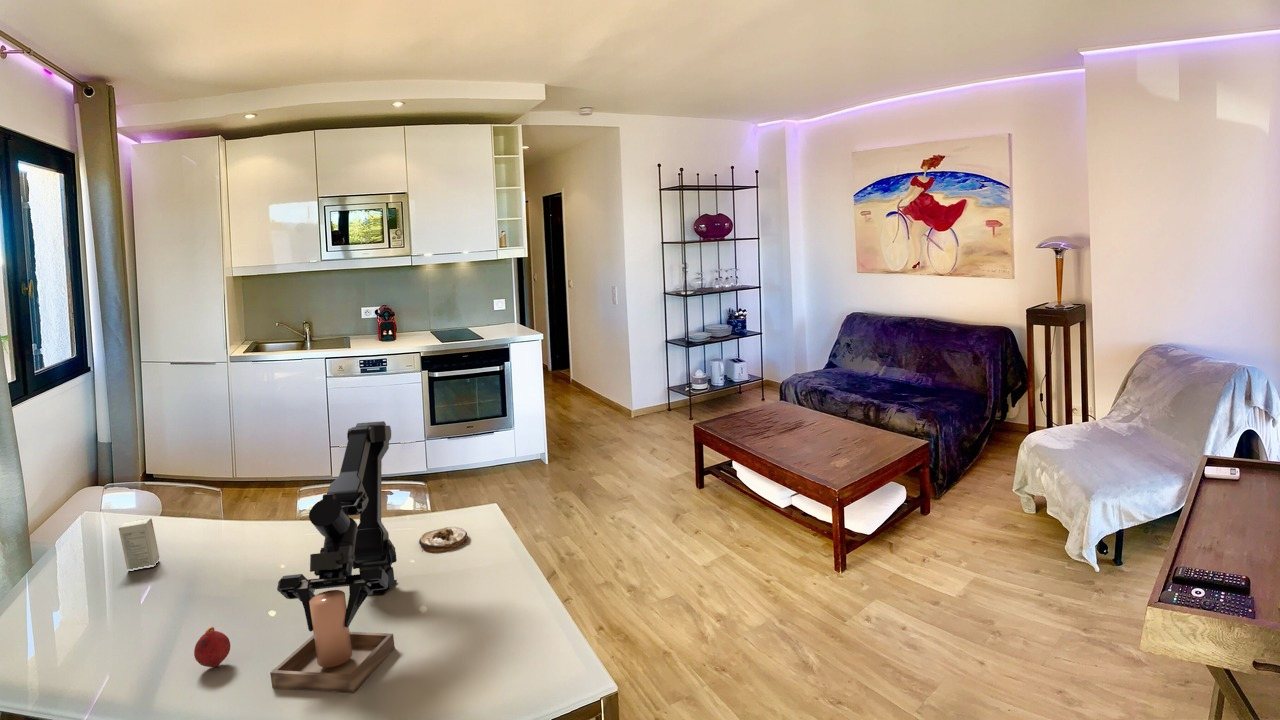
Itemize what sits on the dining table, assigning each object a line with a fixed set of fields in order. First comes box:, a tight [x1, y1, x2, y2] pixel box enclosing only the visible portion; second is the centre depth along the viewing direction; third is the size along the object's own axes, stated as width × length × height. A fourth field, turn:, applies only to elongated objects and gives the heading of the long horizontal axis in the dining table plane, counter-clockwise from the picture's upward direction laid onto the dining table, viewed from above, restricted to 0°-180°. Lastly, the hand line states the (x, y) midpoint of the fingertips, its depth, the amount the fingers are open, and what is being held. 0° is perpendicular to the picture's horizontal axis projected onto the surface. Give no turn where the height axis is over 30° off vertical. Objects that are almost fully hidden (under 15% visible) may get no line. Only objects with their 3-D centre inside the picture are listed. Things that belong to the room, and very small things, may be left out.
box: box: [269, 631, 396, 694], centre depth 128 cm, size 16×14×3 cm
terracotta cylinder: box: [309, 589, 352, 667], centre depth 127 cm, size 6×6×12 cm
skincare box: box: [118, 517, 160, 570], centre depth 177 cm, size 6×4×12 cm
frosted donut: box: [418, 526, 468, 553], centre depth 184 cm, size 15×15×4 cm
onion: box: [193, 626, 231, 668], centre depth 130 cm, size 6×6×8 cm
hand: (328, 628), depth 126 cm, fingers closed on terracotta cylinder, 6 cm apart
